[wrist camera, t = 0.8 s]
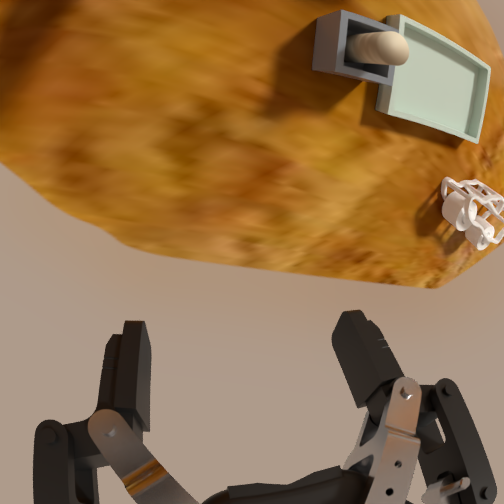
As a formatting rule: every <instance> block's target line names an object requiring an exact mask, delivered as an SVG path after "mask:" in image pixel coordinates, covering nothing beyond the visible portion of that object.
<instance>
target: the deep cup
mask: <svg viewBox="0 0 504 504" xmlns="http://www.w3.org/2000/svg"><path fill="white" fill-rule="evenodd" d="M386 31H394V32H397V33H399V30H398V29H395V28H393V27H391V26H388V25H385V24H383V23H380V22H378V21H375V20H372V19H369V18H366V17H363V16H360V15H357V14H354V13H351V12H348V11H344V10H339V11H336V12H333V13H330V14H327V15H324V16H321V17H319V18H317V24H316V34H315V44H314V53H313V62H312V70H314V71H319V72H325V73H330V74H334V75H339V76H344V77H348V78H352V79H356V80H360V81H365V82H371V83H377V84H382V85H387V86H393V79H394V72H395V66H394V65H384V64H370V63H349V62H344V55H345V46H346V36H349V35H356V34H364V33H374V32H386Z"/></svg>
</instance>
